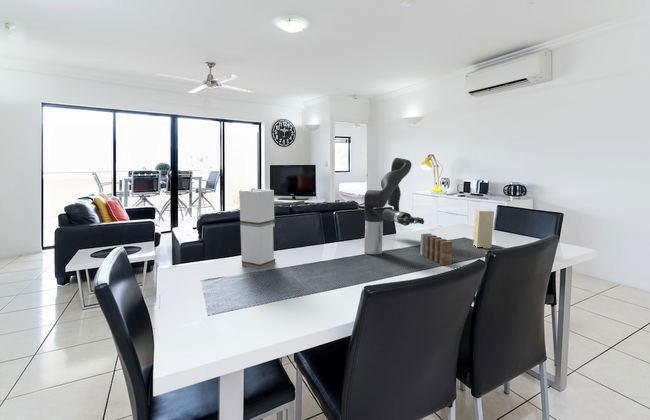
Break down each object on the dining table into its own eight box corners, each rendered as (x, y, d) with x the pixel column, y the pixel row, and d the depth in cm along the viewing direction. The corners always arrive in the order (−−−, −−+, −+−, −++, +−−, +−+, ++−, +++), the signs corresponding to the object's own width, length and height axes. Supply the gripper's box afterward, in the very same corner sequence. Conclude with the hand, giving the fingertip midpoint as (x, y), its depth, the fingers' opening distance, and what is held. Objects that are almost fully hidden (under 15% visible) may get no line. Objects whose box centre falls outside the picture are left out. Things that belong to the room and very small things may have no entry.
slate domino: (420, 254, 178) (421, 233, 177) (428, 253, 180) (429, 233, 178) (422, 255, 176) (423, 234, 175) (430, 254, 178) (431, 234, 176)
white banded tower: (275, 263, 163) (273, 190, 158) (260, 268, 154) (258, 191, 149) (257, 259, 169) (255, 189, 164) (241, 265, 160) (239, 190, 155)
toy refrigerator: (486, 245, 198) (489, 209, 195) (491, 248, 191) (494, 211, 188) (472, 245, 199) (474, 209, 196) (477, 248, 191) (479, 211, 189)
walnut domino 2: (429, 259, 170) (430, 237, 168) (438, 258, 171) (439, 236, 169) (431, 260, 168) (432, 238, 166) (440, 259, 169) (441, 237, 167)
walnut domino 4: (439, 264, 161) (440, 241, 159) (448, 263, 162) (450, 240, 161) (441, 265, 159) (443, 242, 158) (451, 264, 160) (452, 241, 159)
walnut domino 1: (424, 256, 174) (425, 235, 172) (433, 256, 175) (434, 235, 174) (426, 257, 172) (427, 236, 170) (435, 257, 173) (436, 235, 172)
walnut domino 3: (434, 261, 165) (435, 239, 164) (443, 260, 166) (444, 238, 165) (436, 262, 163) (437, 240, 162) (445, 262, 165) (447, 239, 163)
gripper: (391, 212, 200) (404, 216, 184) (413, 211, 203) (428, 215, 188) (391, 224, 201) (403, 229, 185) (413, 224, 204) (427, 228, 188)
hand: (416, 222), depth 186 cm, fingers open, 8 cm apart
